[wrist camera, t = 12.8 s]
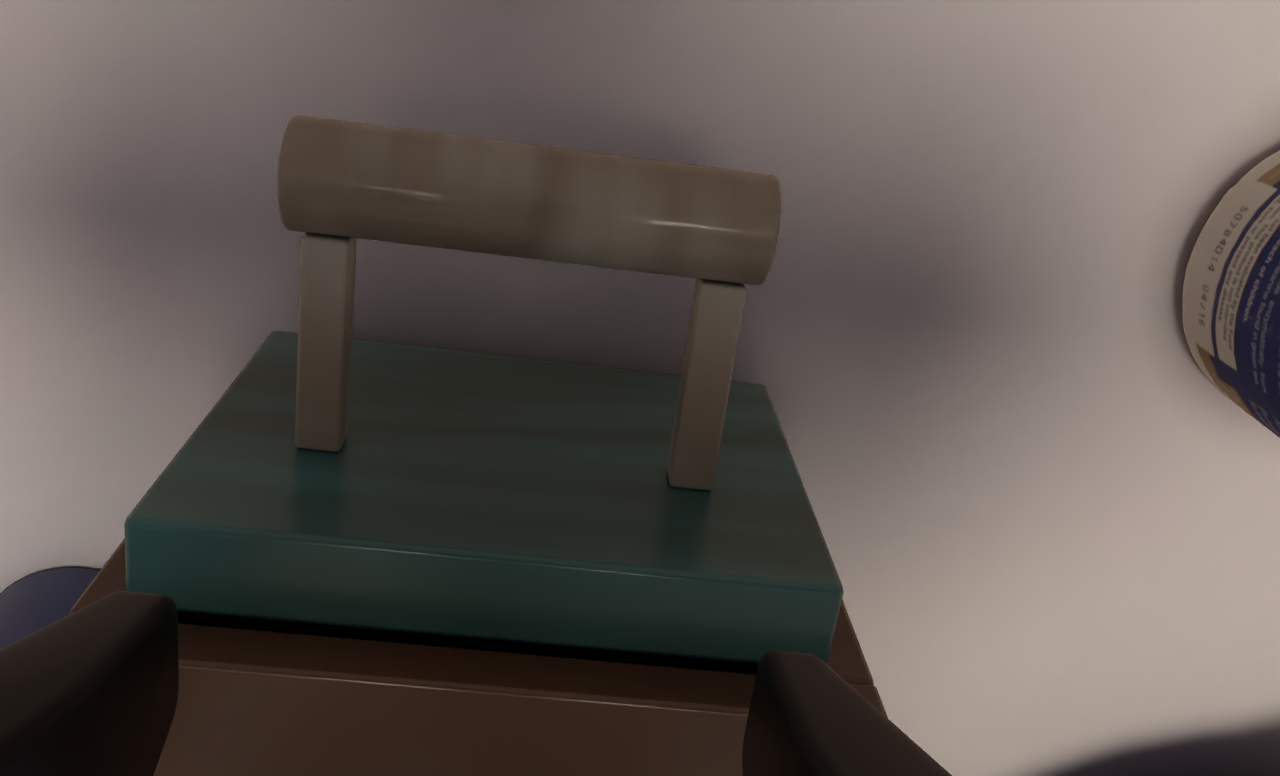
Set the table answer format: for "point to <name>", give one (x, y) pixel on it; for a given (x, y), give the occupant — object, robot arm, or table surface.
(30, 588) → the tall blue rod
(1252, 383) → the pill bottle
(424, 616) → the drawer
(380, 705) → the cabinet
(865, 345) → the table surface
